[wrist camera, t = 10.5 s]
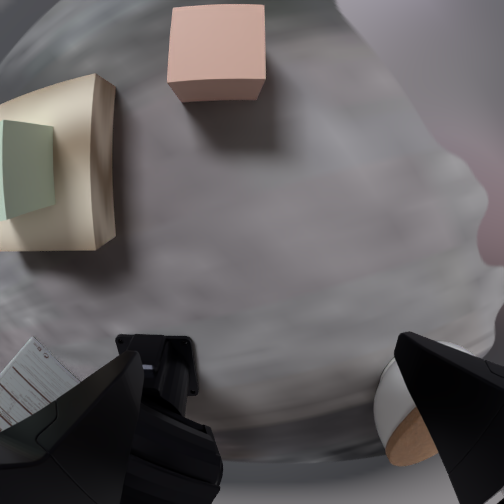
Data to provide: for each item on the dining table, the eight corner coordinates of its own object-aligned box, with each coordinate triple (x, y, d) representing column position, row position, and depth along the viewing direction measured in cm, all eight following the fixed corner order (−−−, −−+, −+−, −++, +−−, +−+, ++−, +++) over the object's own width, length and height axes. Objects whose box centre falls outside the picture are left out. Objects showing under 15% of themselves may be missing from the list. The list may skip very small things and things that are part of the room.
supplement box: (60, 405, 24) (22, 483, 12) (14, 362, 22) (-38, 432, 10) (86, 384, 23) (41, 479, 11) (33, 333, 21) (-34, 414, 9)
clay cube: (256, 100, 17) (265, 79, 12) (181, 102, 17) (167, 82, 12) (255, 38, 16) (264, 5, 11) (184, 41, 15) (172, 8, 11)
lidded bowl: (455, 364, 27) (503, 416, 16) (375, 423, 28) (408, 489, 17) (440, 296, 23) (515, 354, 13) (338, 373, 24) (382, 463, 14)
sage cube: (55, 204, 14) (6, 220, 10) (6, 212, 14) (-40, 228, 9) (53, 126, 13) (3, 119, 8) (3, 143, 13) (-44, 144, 8)
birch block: (117, 235, 19) (95, 250, 16) (15, 238, 18) (-12, 251, 15) (117, 88, 16) (95, 73, 12) (12, 115, 15) (-16, 112, 11)
